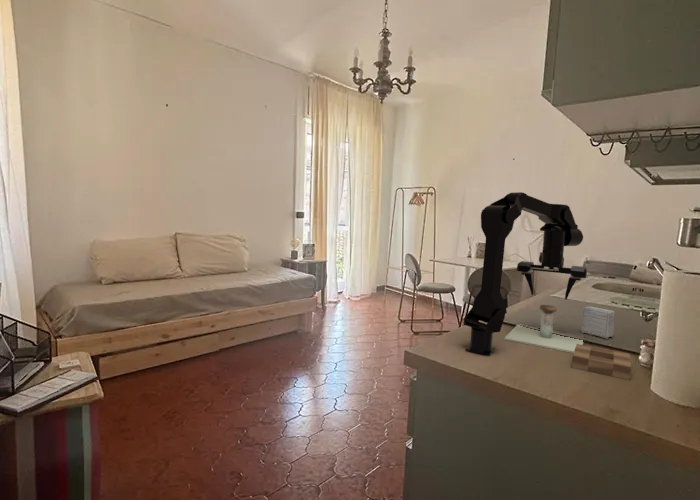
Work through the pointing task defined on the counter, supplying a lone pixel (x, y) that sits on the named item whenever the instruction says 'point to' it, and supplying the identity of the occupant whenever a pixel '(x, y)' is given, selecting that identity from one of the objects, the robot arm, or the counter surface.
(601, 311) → the medicine box
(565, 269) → the robot arm
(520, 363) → the counter surface
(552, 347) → the sage mat
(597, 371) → the walnut block
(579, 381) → the counter surface
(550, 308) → the metal peg
